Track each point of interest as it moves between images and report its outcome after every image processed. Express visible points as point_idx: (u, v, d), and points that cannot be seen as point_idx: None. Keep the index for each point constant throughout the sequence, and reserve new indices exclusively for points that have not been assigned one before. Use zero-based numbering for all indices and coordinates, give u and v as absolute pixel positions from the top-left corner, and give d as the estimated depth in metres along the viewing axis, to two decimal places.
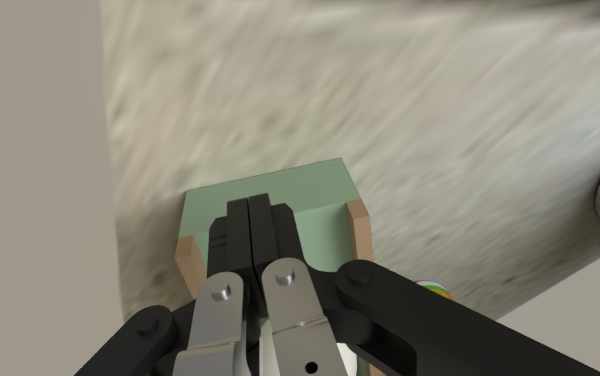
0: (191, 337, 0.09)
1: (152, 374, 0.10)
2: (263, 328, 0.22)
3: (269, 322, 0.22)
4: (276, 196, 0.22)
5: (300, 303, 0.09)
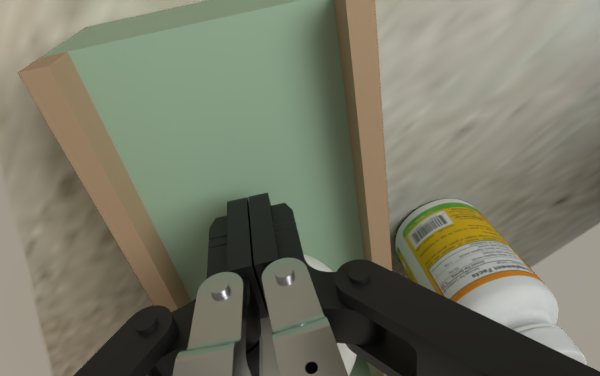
0: (191, 337, 0.09)
1: (153, 374, 0.10)
2: None
3: None
4: (219, 8, 0.13)
5: (299, 303, 0.09)
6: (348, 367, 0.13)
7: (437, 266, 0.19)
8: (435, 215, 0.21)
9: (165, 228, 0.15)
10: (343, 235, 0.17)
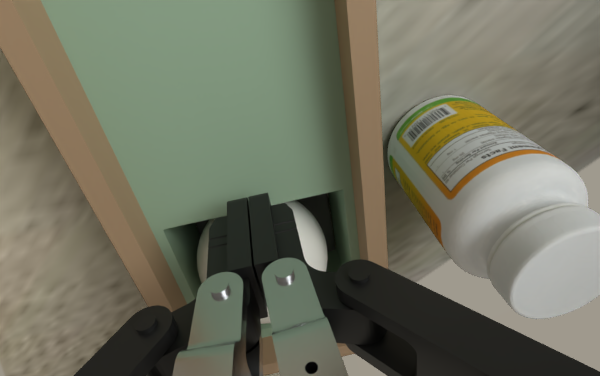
0: (191, 337, 0.09)
1: (152, 374, 0.10)
2: None
3: None
4: None
5: (299, 303, 0.09)
6: None
7: (437, 157, 0.16)
8: (435, 109, 0.18)
9: (85, 64, 0.12)
10: (320, 97, 0.13)
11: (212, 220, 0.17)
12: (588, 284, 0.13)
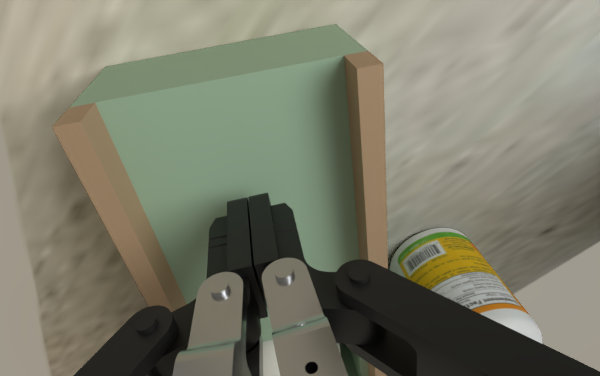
0: (191, 337, 0.09)
1: (153, 374, 0.10)
2: None
3: None
4: (236, 59, 0.14)
5: (300, 303, 0.09)
6: None
7: None
8: (429, 244, 0.23)
9: (176, 259, 0.16)
10: None
11: None
12: None
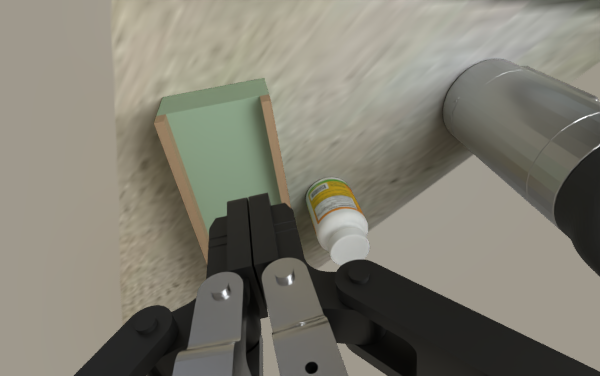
0: (191, 337, 0.09)
1: (153, 374, 0.10)
2: None
3: None
4: (219, 96, 0.35)
5: (300, 303, 0.09)
6: None
7: (317, 207, 0.41)
8: (322, 184, 0.43)
9: (193, 181, 0.37)
10: (270, 188, 0.39)
11: None
12: (358, 253, 0.38)
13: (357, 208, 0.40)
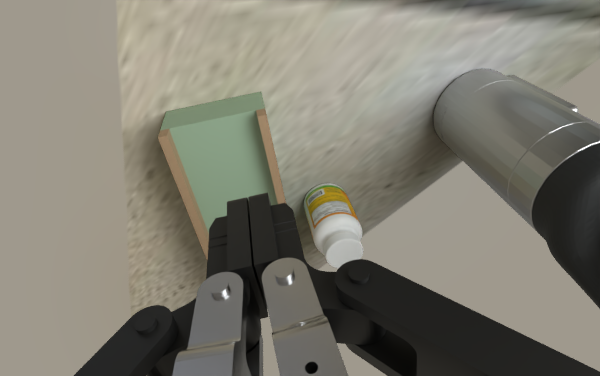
0: (191, 337, 0.09)
1: (152, 375, 0.10)
2: None
3: None
4: (218, 110, 0.37)
5: (300, 303, 0.09)
6: None
7: (314, 212, 0.44)
8: (318, 190, 0.46)
9: (196, 190, 0.39)
10: None
11: None
12: (352, 256, 0.41)
13: (351, 213, 0.43)
